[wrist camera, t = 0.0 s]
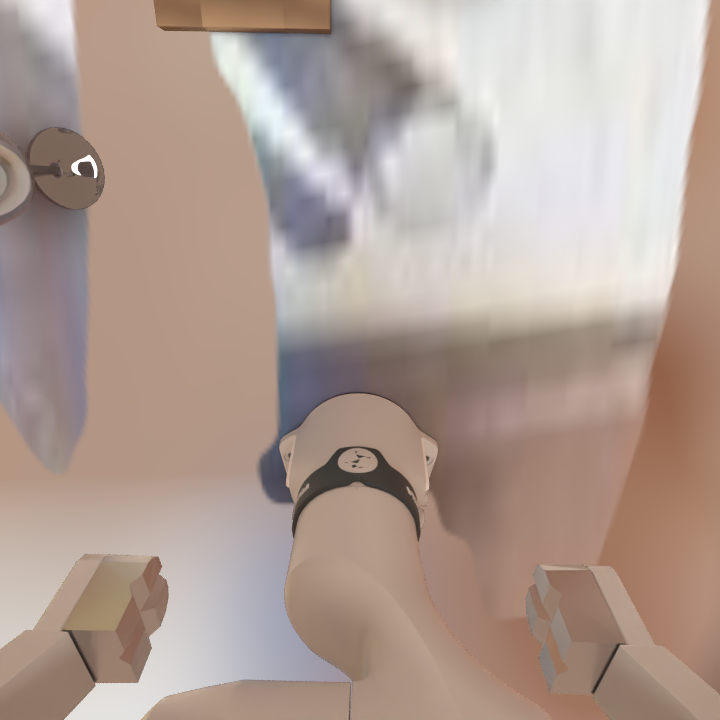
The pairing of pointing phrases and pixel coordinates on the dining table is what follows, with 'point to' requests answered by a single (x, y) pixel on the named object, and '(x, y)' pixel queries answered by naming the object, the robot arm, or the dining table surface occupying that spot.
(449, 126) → the dining table surface
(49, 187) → the wine glass
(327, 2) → the collar plate
